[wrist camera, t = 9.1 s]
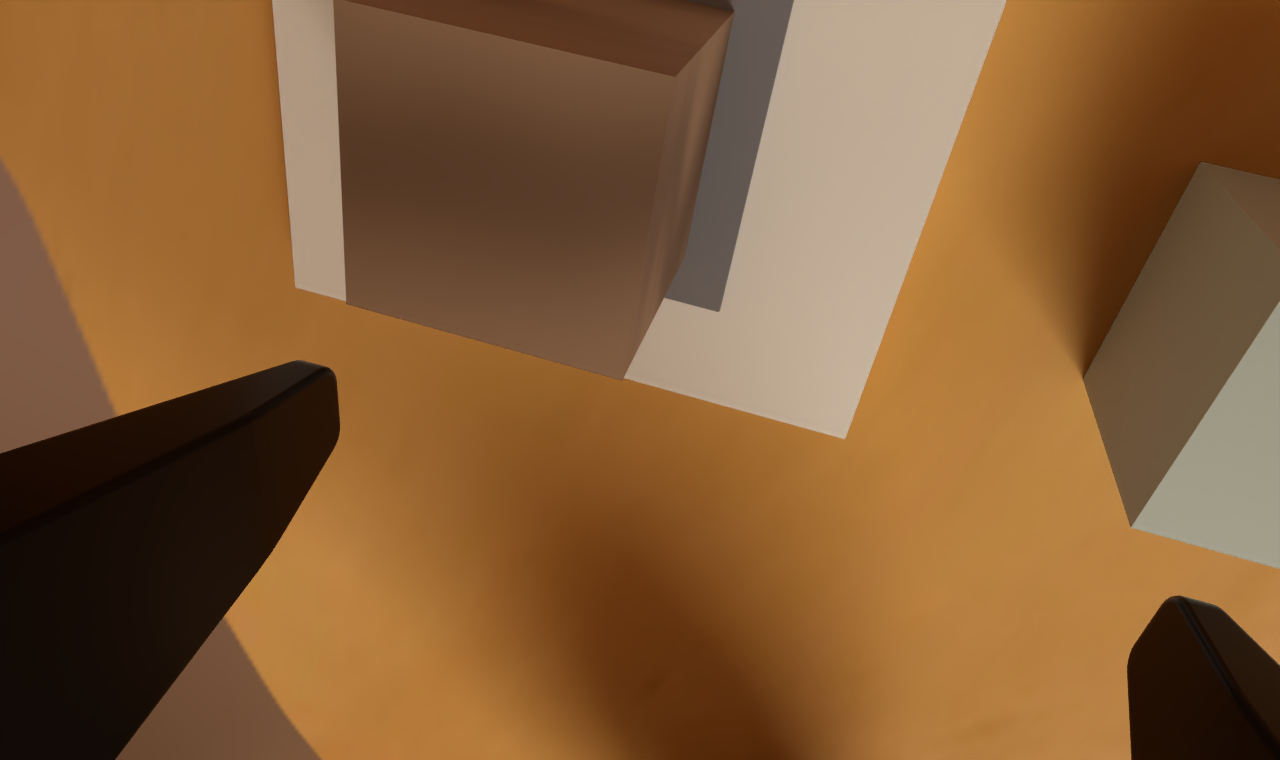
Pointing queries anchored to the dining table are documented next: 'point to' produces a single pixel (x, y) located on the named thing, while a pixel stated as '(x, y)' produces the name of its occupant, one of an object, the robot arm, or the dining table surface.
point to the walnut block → (524, 164)
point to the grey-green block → (1201, 373)
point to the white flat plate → (742, 191)
